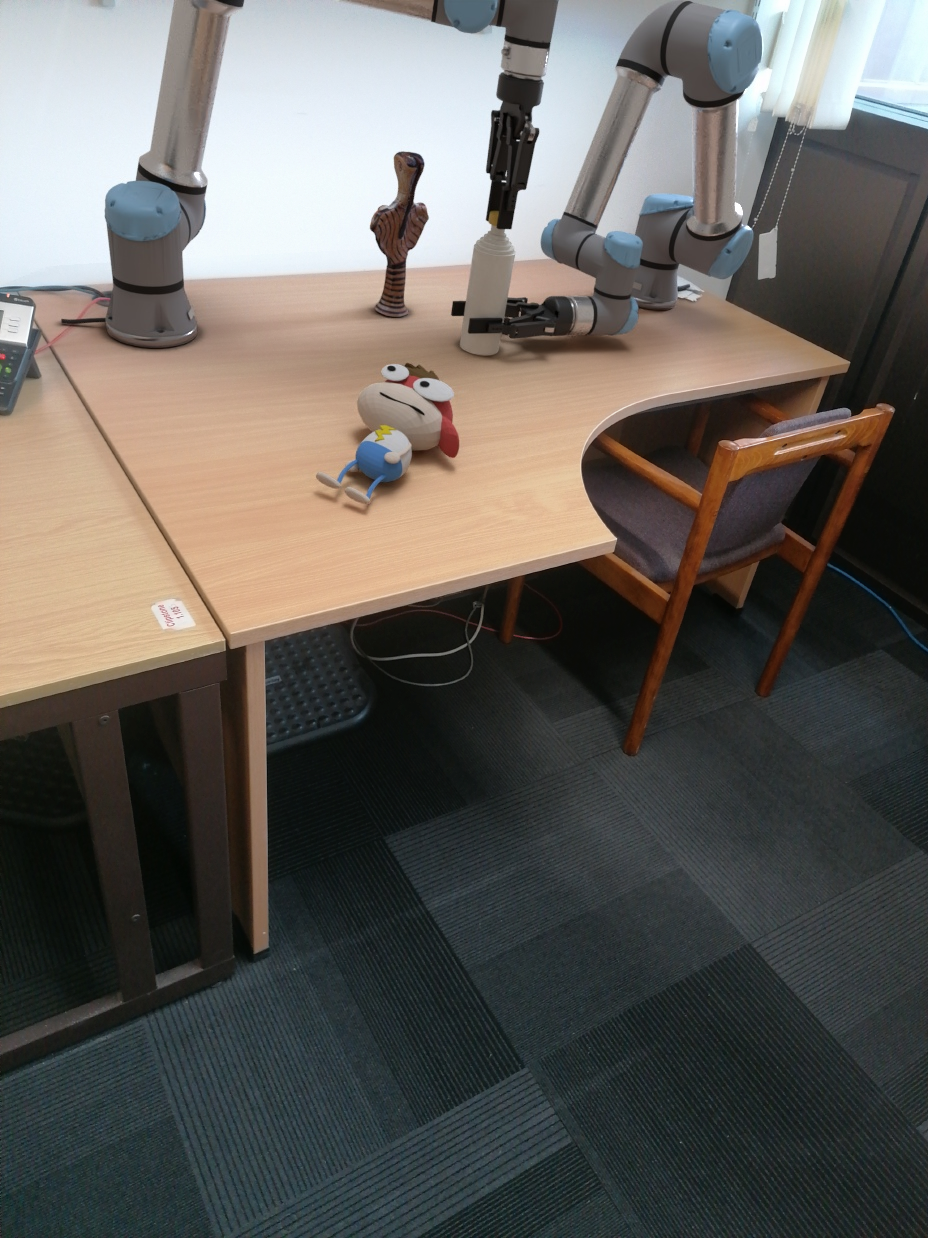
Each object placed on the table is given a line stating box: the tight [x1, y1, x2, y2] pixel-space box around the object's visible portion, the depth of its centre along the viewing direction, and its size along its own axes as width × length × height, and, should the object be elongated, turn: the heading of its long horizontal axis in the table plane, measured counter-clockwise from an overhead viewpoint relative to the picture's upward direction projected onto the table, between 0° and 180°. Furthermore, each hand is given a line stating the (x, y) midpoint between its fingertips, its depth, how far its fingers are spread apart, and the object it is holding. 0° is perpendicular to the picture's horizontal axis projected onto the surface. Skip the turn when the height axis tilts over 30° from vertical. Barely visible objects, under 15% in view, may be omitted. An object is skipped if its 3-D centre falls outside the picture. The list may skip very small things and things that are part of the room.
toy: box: [315, 362, 460, 505], centre depth 132 cm, size 18×10×30 cm
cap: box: [487, 211, 499, 226], centre depth 159 cm, size 4×4×2 cm
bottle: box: [459, 224, 516, 357], centre depth 166 cm, size 8×8×24 cm
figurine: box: [369, 150, 430, 318], centre depth 173 cm, size 15×8×30 cm, turn 144°
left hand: (498, 224), depth 160 cm, fingers closed on cap, 4 cm apart
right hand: (461, 316), depth 168 cm, fingers closed on bottle, 8 cm apart
